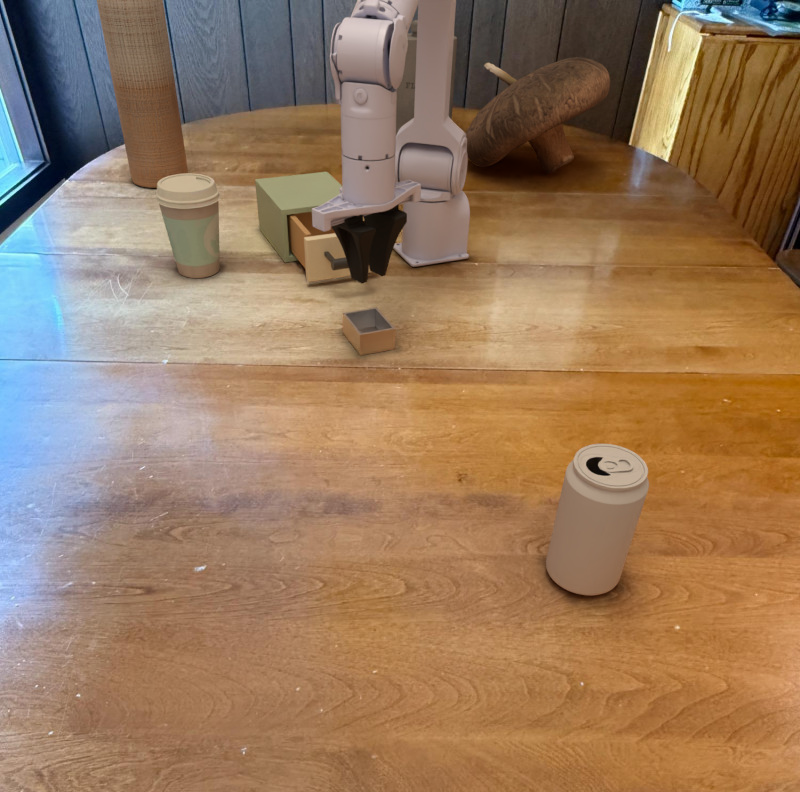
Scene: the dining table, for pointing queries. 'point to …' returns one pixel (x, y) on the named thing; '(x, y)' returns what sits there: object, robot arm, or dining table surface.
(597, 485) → the beverage can
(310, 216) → the drawer
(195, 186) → the coffee cup
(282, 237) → the cabinet
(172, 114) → the vase
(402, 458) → the dining table surface
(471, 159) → the brown fungus
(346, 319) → the open box
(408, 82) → the flask
